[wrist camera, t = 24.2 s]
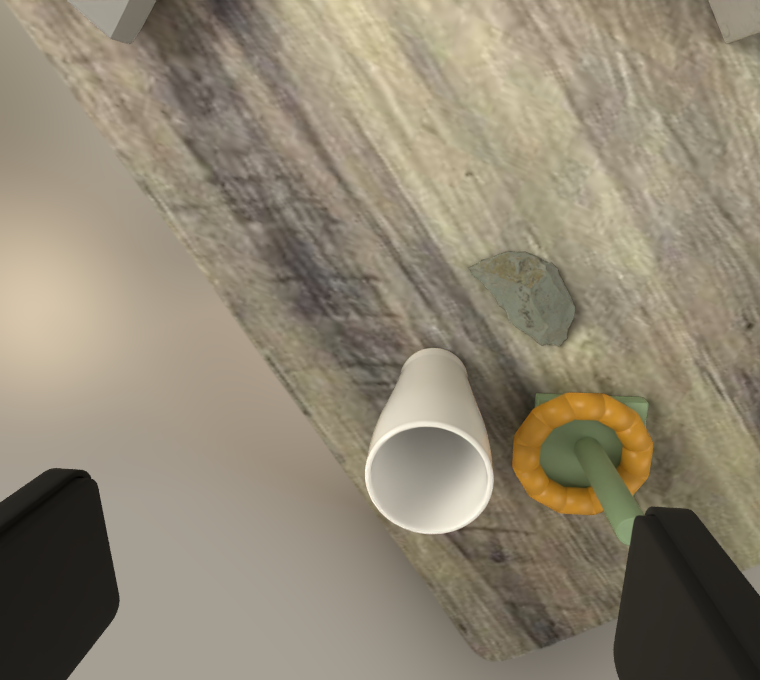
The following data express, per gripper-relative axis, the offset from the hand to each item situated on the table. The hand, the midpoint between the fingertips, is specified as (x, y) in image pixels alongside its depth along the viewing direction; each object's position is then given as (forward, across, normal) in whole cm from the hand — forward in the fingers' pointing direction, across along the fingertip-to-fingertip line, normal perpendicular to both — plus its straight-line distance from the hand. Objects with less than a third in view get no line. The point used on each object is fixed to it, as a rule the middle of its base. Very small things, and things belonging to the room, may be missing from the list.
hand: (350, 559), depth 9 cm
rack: (+30, -13, +13) cm, 35 cm away
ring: (+28, -12, +13) cm, 33 cm away
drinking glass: (+31, -1, +8) cm, 32 cm away
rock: (+31, -8, +1) cm, 32 cm away
